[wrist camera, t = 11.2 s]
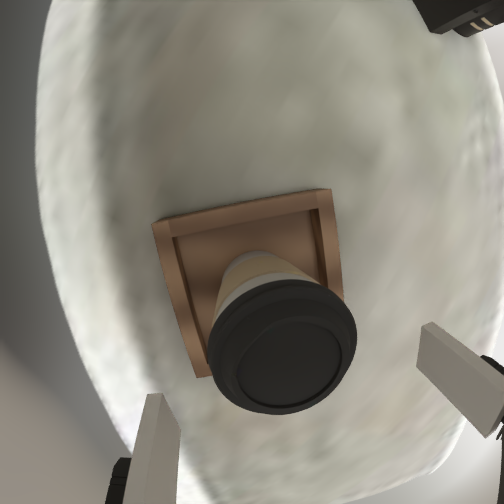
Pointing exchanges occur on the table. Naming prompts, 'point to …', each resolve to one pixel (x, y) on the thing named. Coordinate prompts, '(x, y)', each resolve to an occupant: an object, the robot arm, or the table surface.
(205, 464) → the table surface
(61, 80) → the table surface
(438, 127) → the table surface
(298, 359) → the coffee cup
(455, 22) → the light fixture
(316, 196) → the tray
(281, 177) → the table surface
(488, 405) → the robot arm
